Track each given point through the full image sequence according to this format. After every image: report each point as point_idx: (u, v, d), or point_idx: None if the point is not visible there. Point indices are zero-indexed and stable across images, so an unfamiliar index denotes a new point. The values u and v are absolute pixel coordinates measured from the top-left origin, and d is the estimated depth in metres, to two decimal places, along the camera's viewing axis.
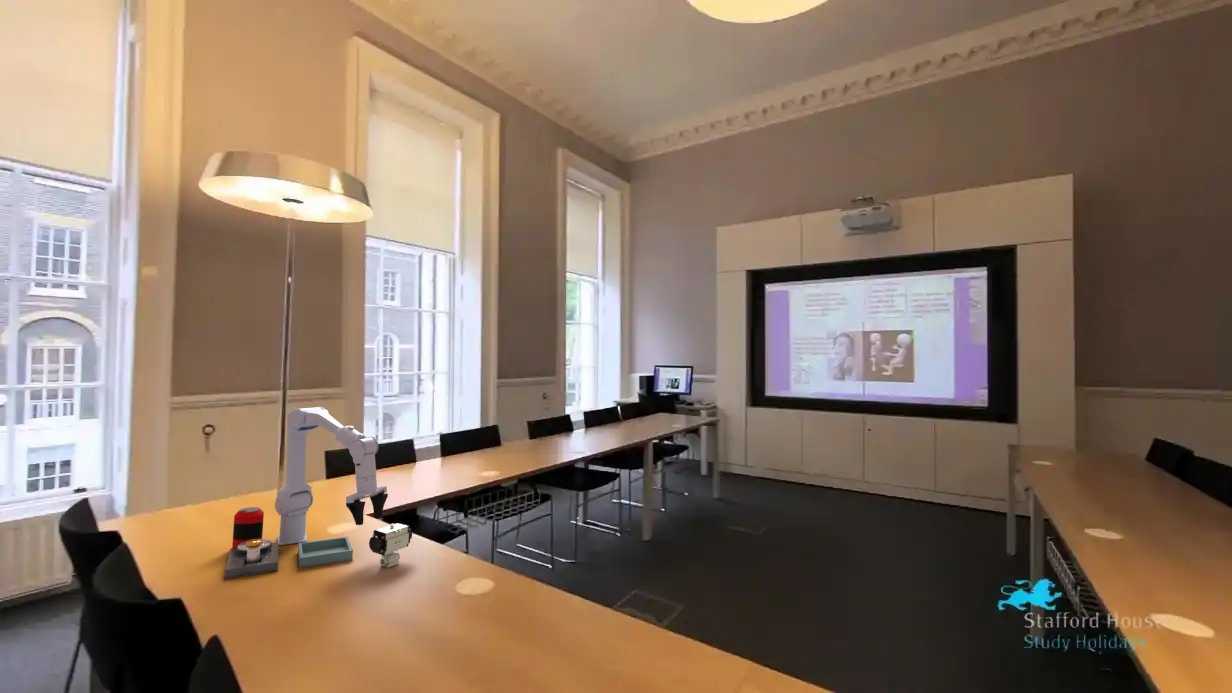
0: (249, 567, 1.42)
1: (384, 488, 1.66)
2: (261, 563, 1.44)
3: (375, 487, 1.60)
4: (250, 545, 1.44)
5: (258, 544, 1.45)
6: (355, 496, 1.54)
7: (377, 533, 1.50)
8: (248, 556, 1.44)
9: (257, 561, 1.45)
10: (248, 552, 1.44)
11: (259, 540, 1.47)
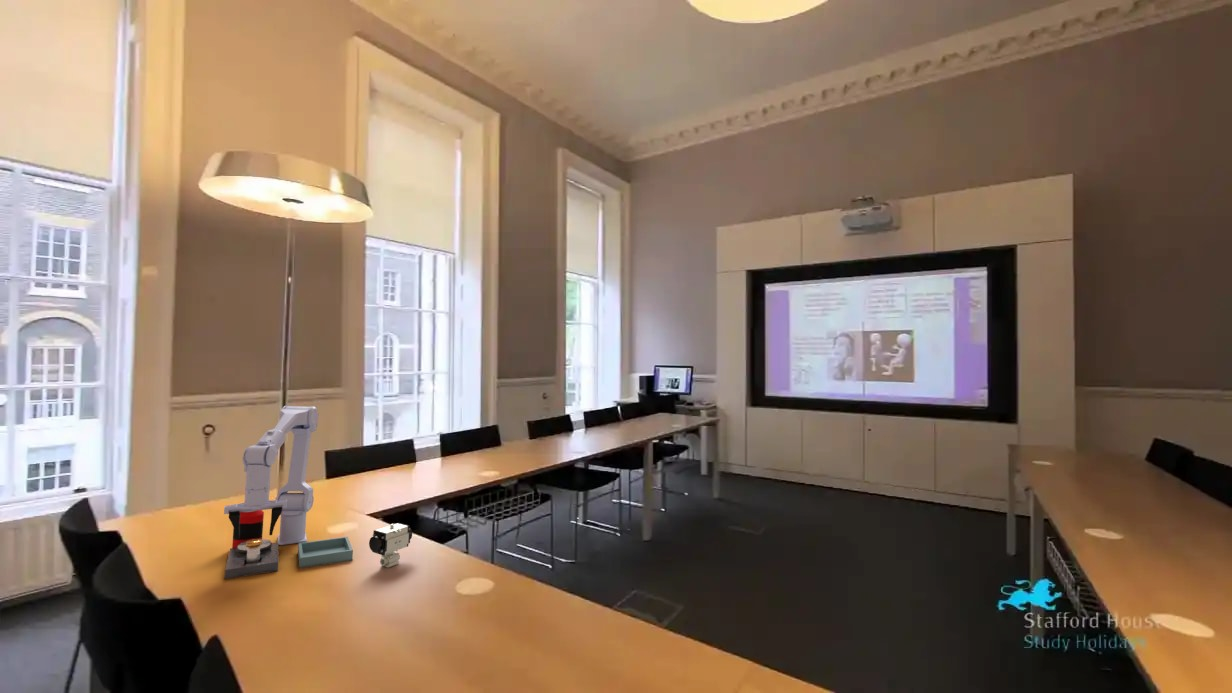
0: (249, 567, 1.42)
1: (282, 503, 1.49)
2: (261, 563, 1.44)
3: (259, 502, 1.44)
4: (250, 545, 1.44)
5: (258, 544, 1.45)
6: (230, 508, 1.42)
7: (377, 533, 1.49)
8: (248, 556, 1.44)
9: (257, 561, 1.45)
10: (248, 552, 1.44)
11: (259, 540, 1.47)
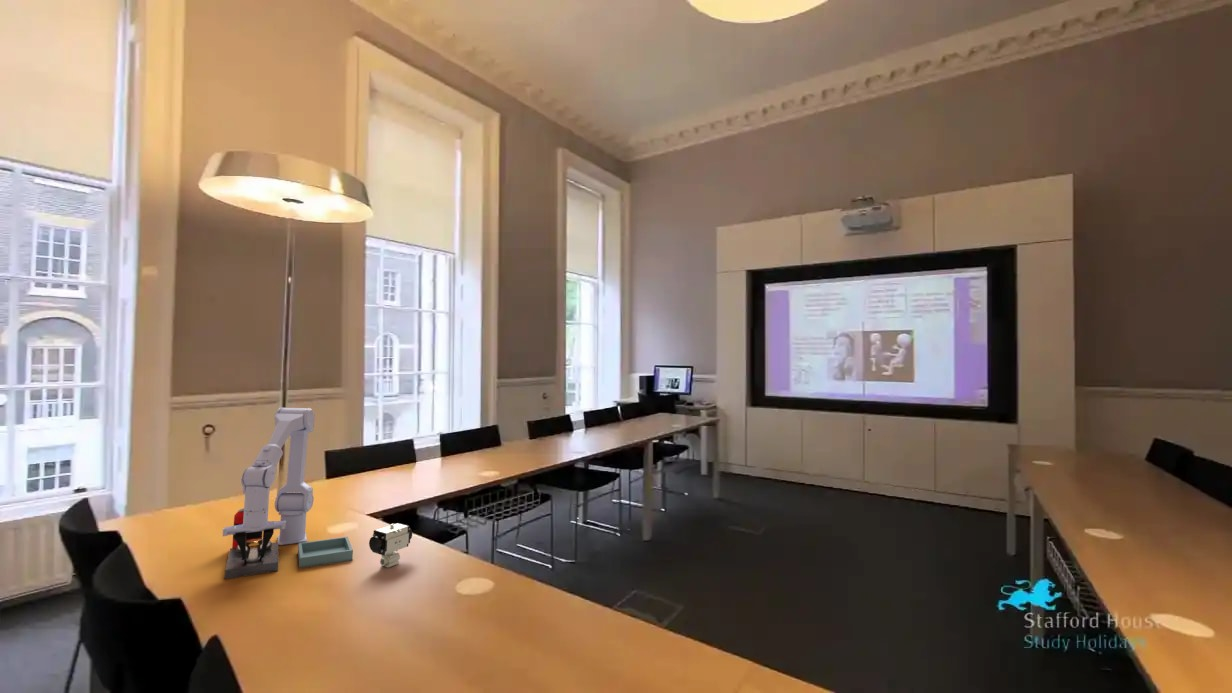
0: (249, 567, 1.42)
1: (280, 524, 1.48)
2: (261, 563, 1.44)
3: (257, 524, 1.44)
4: (250, 545, 1.44)
5: (258, 544, 1.45)
6: (229, 530, 1.42)
7: (377, 533, 1.50)
8: (248, 556, 1.44)
9: (257, 561, 1.45)
10: (248, 552, 1.44)
11: (259, 540, 1.47)
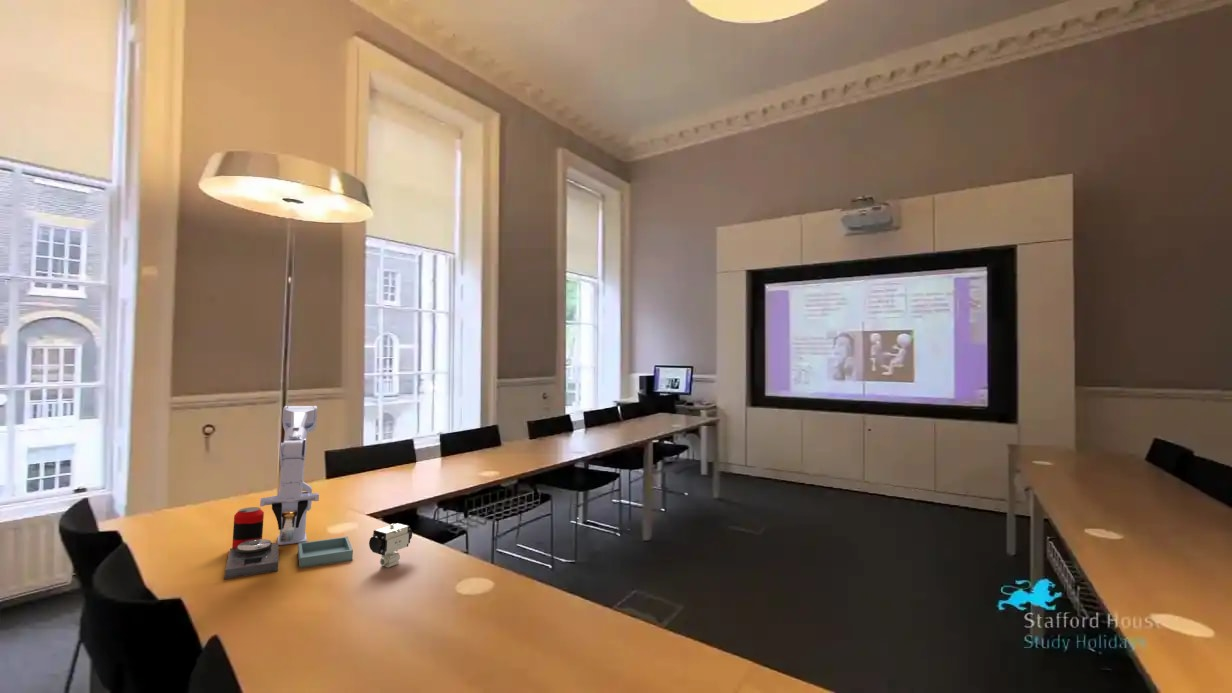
0: (249, 567, 1.42)
1: (314, 496, 1.54)
2: (261, 563, 1.44)
3: (293, 495, 1.49)
4: (286, 515, 1.49)
5: (293, 515, 1.50)
6: (266, 500, 1.47)
7: (377, 533, 1.50)
8: (283, 526, 1.50)
9: (291, 532, 1.51)
10: (283, 522, 1.50)
11: (294, 511, 1.52)
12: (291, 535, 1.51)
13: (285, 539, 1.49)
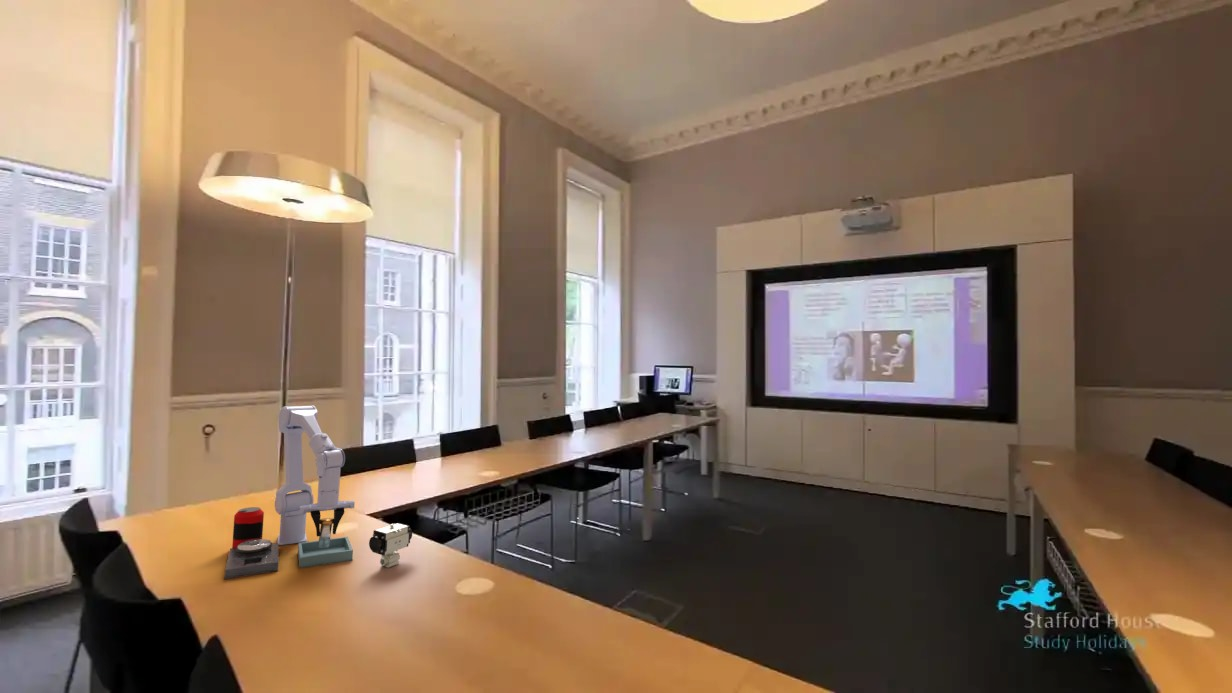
0: (249, 567, 1.42)
1: (350, 504, 1.60)
2: (261, 563, 1.44)
3: (331, 503, 1.56)
4: (324, 523, 1.55)
5: (331, 522, 1.57)
6: (306, 508, 1.53)
7: (377, 533, 1.49)
8: (321, 533, 1.56)
9: (329, 538, 1.57)
10: (321, 529, 1.56)
11: (331, 519, 1.58)
12: (328, 542, 1.57)
13: (323, 545, 1.56)
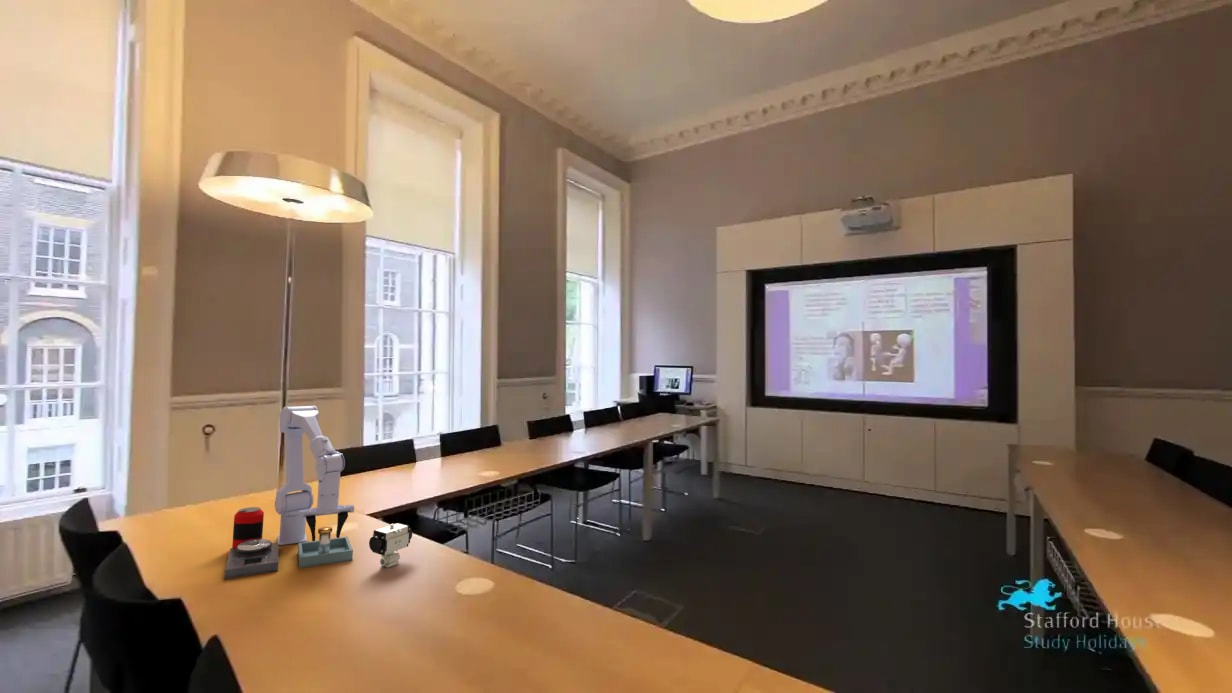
0: (249, 567, 1.42)
1: (350, 508, 1.60)
2: (261, 563, 1.44)
3: (330, 507, 1.56)
4: (322, 532, 1.55)
5: (329, 531, 1.56)
6: (305, 512, 1.53)
7: (377, 533, 1.49)
8: (320, 542, 1.56)
9: (328, 547, 1.57)
10: (320, 538, 1.56)
11: (329, 527, 1.58)
12: (328, 551, 1.57)
13: None
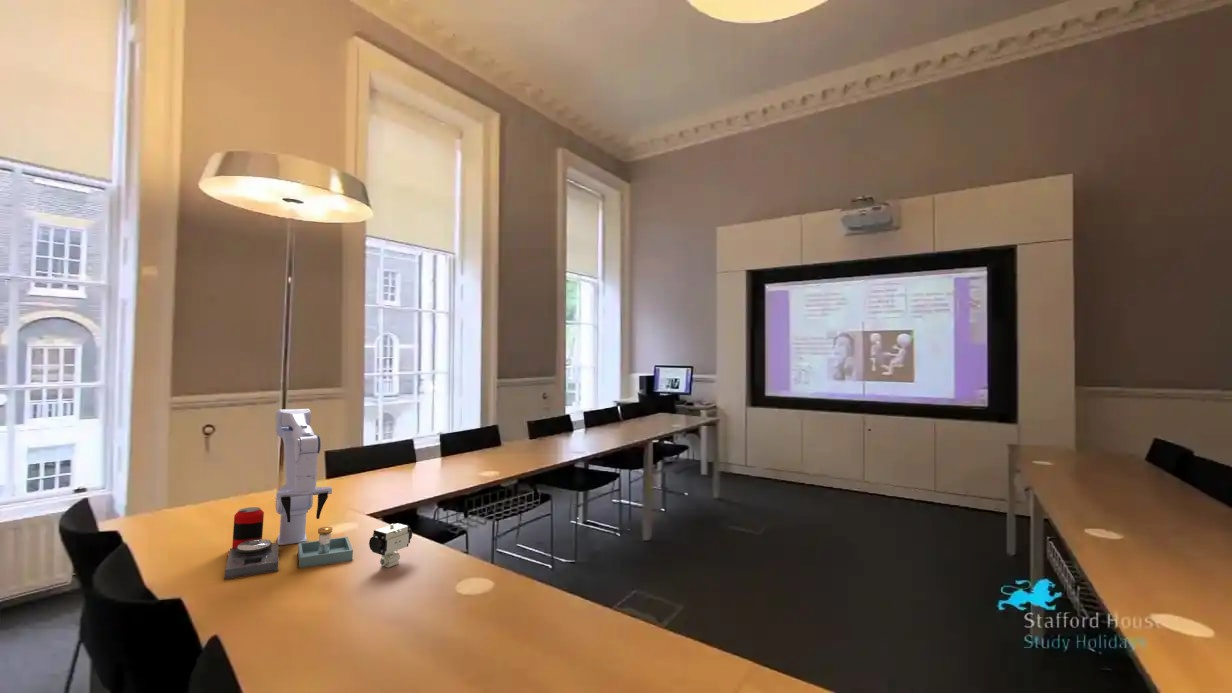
0: (249, 567, 1.42)
1: (327, 489, 1.62)
2: (261, 563, 1.44)
3: (308, 488, 1.57)
4: (322, 532, 1.55)
5: (329, 531, 1.56)
6: (282, 493, 1.55)
7: (377, 533, 1.49)
8: (320, 542, 1.56)
9: (328, 547, 1.57)
10: (320, 538, 1.56)
11: (329, 527, 1.58)
12: (328, 551, 1.57)
13: None
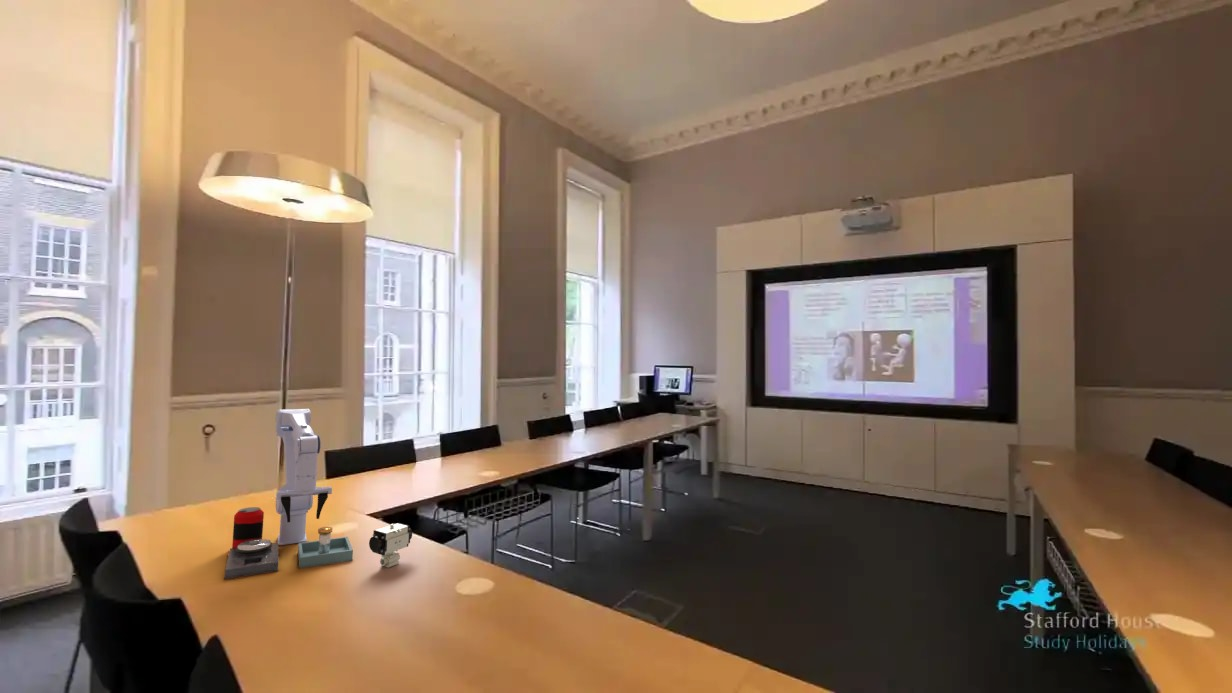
0: (249, 567, 1.42)
1: (327, 489, 1.62)
2: (261, 563, 1.44)
3: (308, 488, 1.57)
4: (322, 532, 1.55)
5: (329, 531, 1.56)
6: (282, 493, 1.55)
7: (377, 533, 1.50)
8: (320, 542, 1.56)
9: (328, 547, 1.57)
10: (320, 538, 1.56)
11: (329, 527, 1.58)
12: (328, 551, 1.57)
13: None
